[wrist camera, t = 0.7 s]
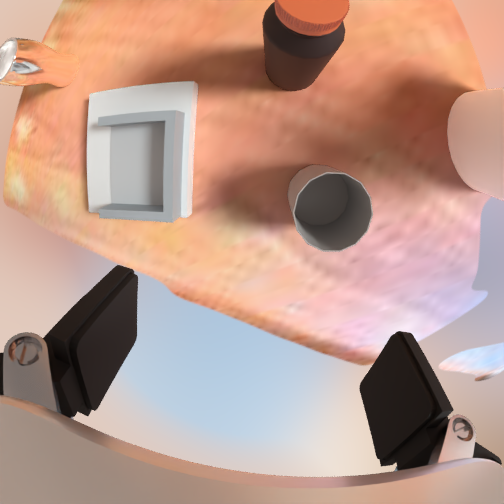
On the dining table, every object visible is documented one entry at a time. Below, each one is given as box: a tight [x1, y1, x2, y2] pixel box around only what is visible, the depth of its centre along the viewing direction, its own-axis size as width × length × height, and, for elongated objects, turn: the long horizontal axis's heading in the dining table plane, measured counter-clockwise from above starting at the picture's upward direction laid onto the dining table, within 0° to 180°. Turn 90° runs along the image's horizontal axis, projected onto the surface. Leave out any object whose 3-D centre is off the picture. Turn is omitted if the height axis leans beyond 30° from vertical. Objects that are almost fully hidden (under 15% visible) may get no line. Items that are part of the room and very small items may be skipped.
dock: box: [87, 81, 199, 223], centre depth 32 cm, size 18×16×6 cm
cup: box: [287, 165, 373, 252], centre depth 32 cm, size 8×8×10 cm
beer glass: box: [0, 38, 79, 87], centre depth 23 cm, size 7×7×15 cm
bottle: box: [262, 0, 350, 91], centre depth 21 cm, size 7×7×20 cm
